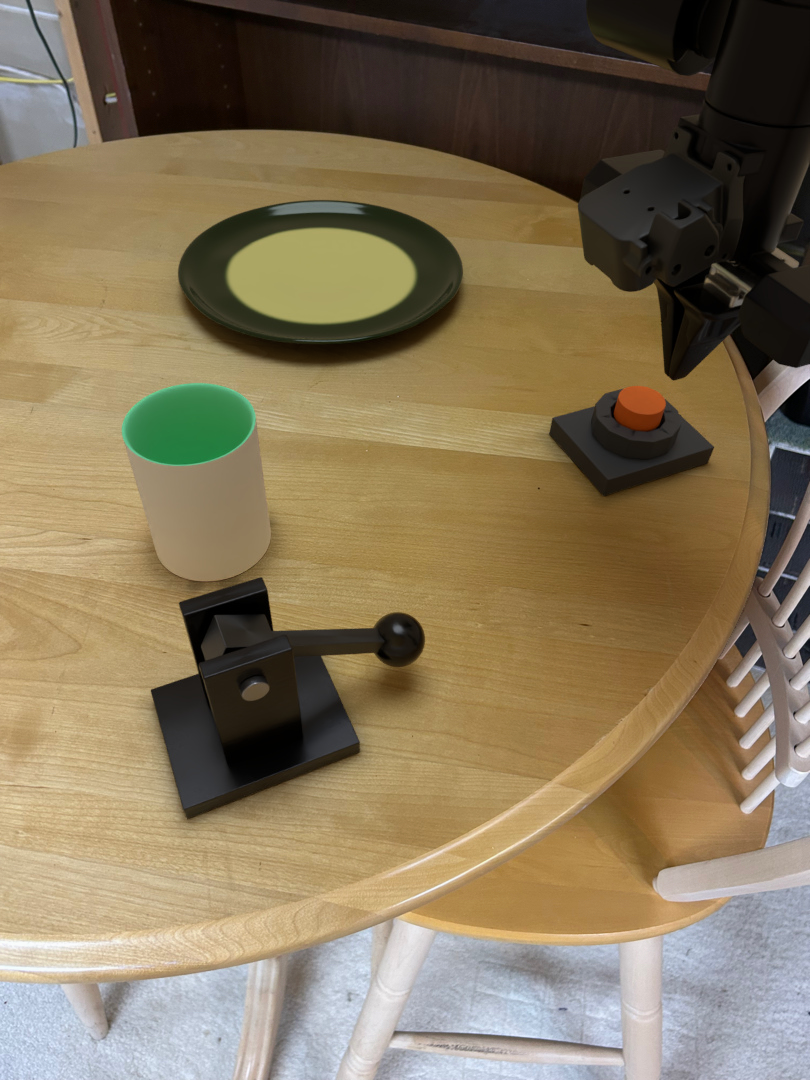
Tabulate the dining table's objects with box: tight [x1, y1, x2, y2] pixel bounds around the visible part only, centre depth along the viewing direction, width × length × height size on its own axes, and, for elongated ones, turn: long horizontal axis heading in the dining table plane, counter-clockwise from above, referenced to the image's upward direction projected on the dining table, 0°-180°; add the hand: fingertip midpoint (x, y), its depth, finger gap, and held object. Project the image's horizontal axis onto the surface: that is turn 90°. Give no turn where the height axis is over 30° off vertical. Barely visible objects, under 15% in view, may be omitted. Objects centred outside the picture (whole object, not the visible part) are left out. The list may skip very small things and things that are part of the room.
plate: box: [177, 199, 464, 345], centre depth 80 cm, size 28×28×2 cm
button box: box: [549, 388, 715, 497], centre depth 64 cm, size 8×10×4 cm
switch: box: [150, 576, 361, 820], centre depth 43 cm, size 10×8×10 cm
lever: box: [201, 611, 426, 668], centre depth 44 cm, size 13×3×3 cm, turn 114°
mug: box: [121, 382, 272, 582], centre depth 54 cm, size 12×8×10 cm
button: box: [614, 385, 666, 432], centre depth 62 cm, size 4×4×2 cm
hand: (674, 376), depth 50 cm, fingers closed
